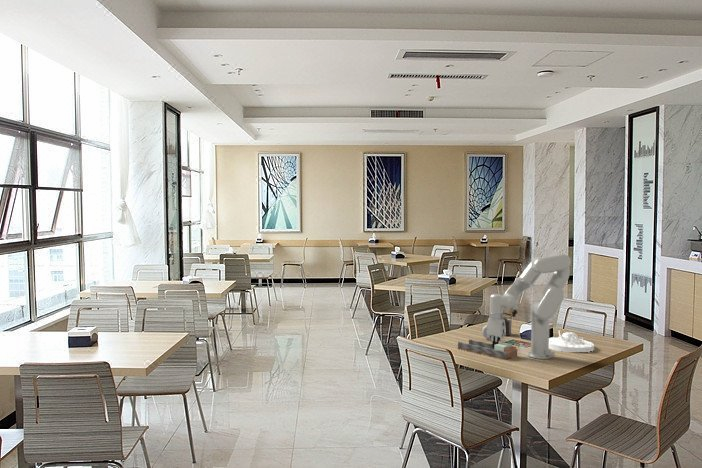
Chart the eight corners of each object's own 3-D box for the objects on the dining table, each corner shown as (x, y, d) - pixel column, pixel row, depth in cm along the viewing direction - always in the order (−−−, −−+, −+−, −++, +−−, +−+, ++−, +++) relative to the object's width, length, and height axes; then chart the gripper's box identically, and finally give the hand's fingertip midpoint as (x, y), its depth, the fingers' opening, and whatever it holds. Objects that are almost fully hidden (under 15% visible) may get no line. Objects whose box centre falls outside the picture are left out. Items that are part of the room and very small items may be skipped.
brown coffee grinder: (492, 335, 368) (493, 308, 368) (495, 331, 378) (496, 305, 377) (516, 337, 361) (517, 310, 361) (519, 334, 371) (520, 307, 370)
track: (517, 356, 312) (517, 346, 312) (505, 359, 304) (505, 350, 304) (469, 345, 336) (470, 336, 335) (457, 348, 328) (458, 339, 327)
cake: (604, 351, 329) (605, 335, 329) (568, 355, 318) (568, 338, 318) (569, 341, 355) (569, 326, 354) (534, 344, 344) (534, 329, 344)
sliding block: (512, 353, 313) (512, 344, 312) (503, 355, 307) (503, 346, 306) (502, 351, 317) (503, 342, 317) (494, 353, 311) (494, 344, 311)
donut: (481, 339, 354) (481, 323, 354) (482, 338, 357) (482, 323, 357) (496, 341, 349) (497, 325, 349) (498, 340, 353) (498, 324, 352)
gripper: (511, 317, 312) (510, 349, 313) (488, 313, 323) (487, 344, 324) (504, 318, 307) (503, 351, 308) (481, 314, 318) (480, 346, 319)
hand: (495, 348), depth 316 cm, fingers closed
